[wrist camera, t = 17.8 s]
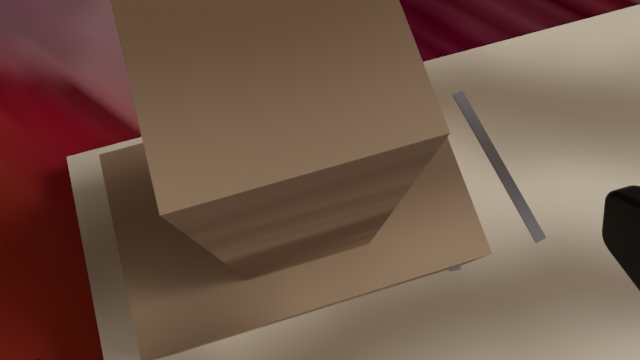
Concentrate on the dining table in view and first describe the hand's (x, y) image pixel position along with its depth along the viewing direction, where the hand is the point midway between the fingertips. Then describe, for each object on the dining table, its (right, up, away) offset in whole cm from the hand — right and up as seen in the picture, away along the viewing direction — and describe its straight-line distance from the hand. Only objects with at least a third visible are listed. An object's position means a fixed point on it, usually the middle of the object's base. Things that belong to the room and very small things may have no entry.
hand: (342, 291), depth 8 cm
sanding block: (-1, 0, +10) cm, 10 cm away
